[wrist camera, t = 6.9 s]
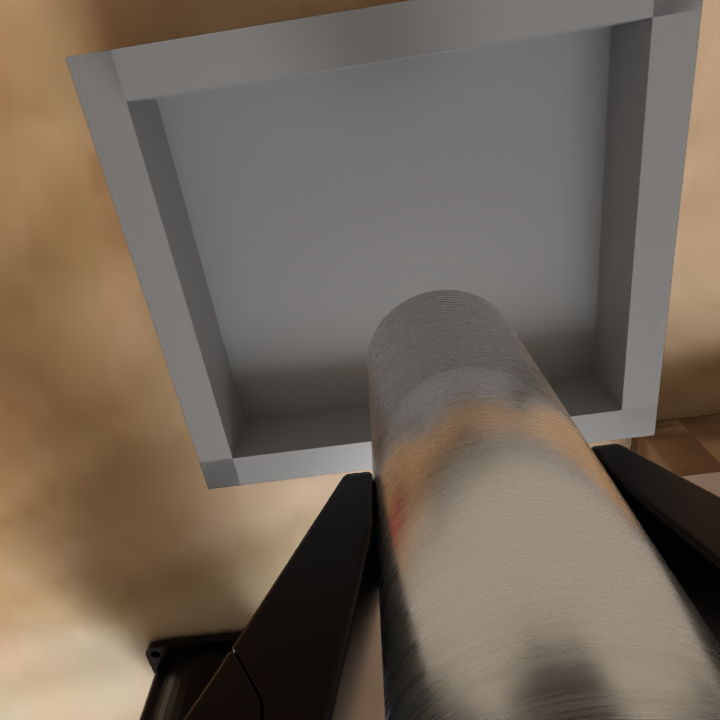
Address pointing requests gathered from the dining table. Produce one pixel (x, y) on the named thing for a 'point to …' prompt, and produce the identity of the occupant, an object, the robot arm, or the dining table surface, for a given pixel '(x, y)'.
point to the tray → (397, 205)
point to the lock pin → (512, 542)
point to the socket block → (686, 449)
